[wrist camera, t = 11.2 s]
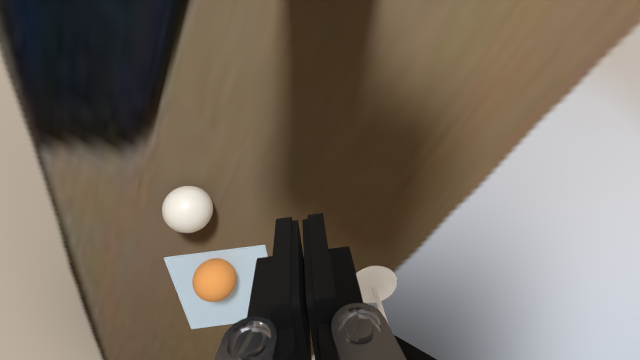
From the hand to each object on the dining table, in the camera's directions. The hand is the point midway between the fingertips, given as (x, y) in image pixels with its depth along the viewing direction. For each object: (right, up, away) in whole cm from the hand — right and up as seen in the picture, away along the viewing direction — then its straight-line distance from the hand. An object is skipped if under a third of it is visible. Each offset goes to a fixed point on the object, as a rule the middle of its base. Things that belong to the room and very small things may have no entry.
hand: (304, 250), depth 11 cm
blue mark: (-13, -14, +35) cm, 40 cm away
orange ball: (-14, -11, +31) cm, 35 cm away
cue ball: (-15, -1, +26) cm, 30 cm away
